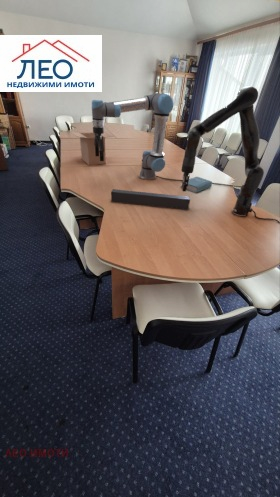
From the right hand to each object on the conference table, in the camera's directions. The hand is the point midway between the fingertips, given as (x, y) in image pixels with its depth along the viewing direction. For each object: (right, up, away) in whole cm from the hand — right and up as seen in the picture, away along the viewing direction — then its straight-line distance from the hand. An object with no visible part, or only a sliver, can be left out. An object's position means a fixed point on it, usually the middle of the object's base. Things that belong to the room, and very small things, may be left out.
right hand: (183, 188), depth 150 cm
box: (-80, +53, +87) cm, 130 cm away
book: (+19, +13, +43) cm, 48 cm away
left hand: (-60, +27, +16) cm, 68 cm away
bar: (-23, -9, +9) cm, 26 cm away
